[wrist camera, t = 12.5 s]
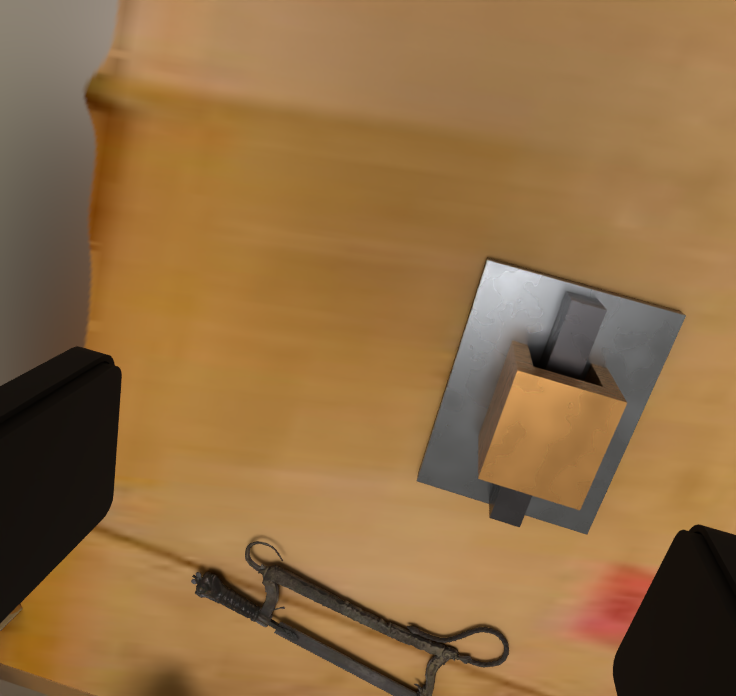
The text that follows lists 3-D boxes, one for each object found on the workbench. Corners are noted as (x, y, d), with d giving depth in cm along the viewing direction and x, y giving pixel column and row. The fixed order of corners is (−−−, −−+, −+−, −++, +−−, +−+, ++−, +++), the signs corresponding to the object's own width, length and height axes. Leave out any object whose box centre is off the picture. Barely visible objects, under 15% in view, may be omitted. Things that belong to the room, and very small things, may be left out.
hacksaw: (190, 581, 50) (182, 594, 48) (233, 492, 45) (226, 504, 44) (452, 716, 50) (451, 733, 49) (518, 640, 46) (519, 656, 45)
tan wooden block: (512, 340, 38) (517, 370, 33) (607, 368, 38) (627, 402, 32) (478, 436, 40) (477, 478, 35) (567, 463, 40) (580, 510, 35)
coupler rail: (487, 257, 38) (488, 267, 34) (680, 311, 37) (700, 327, 33) (418, 473, 43) (413, 500, 40) (584, 525, 42) (593, 557, 39)
